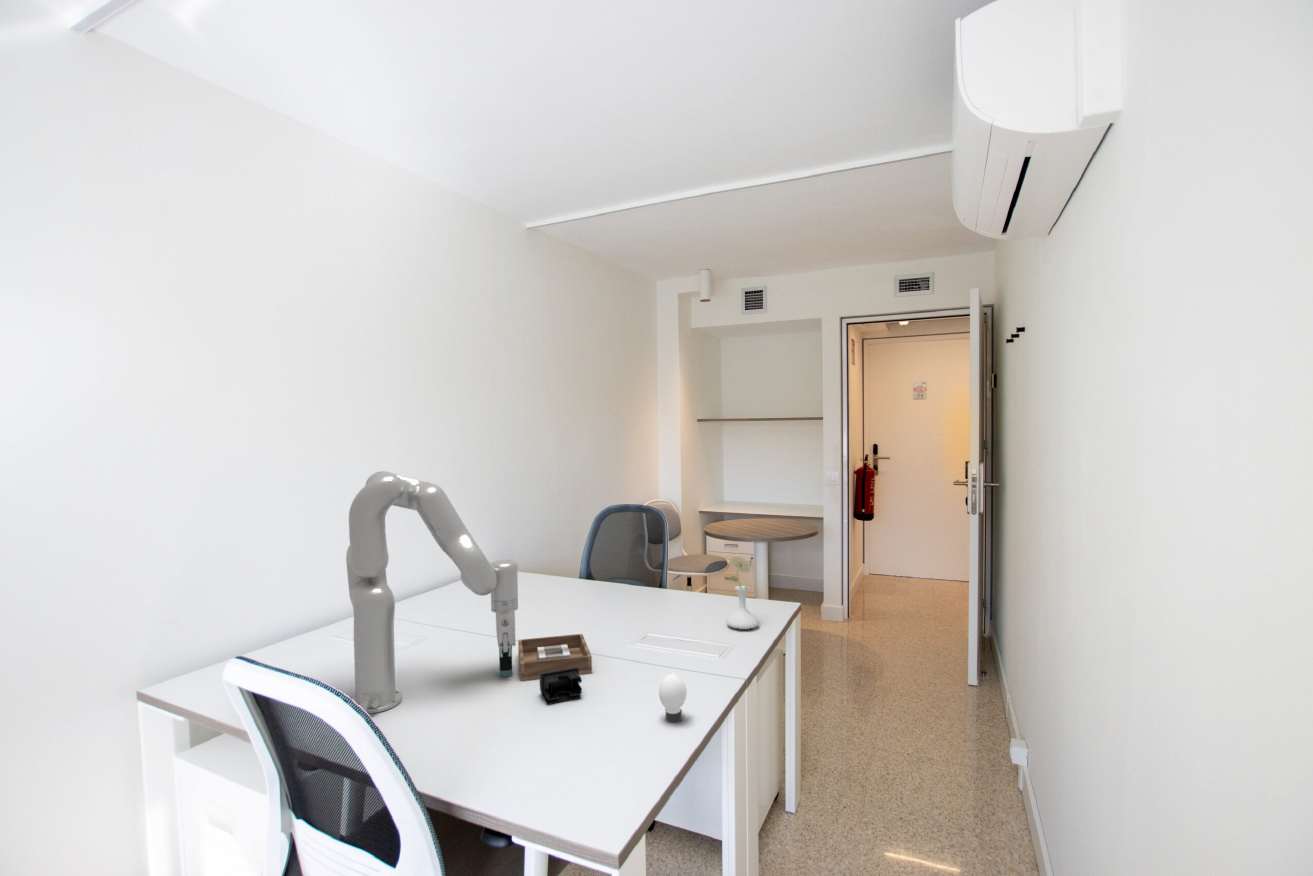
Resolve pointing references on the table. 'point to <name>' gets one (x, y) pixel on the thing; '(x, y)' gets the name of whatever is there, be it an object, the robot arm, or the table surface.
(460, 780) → the table surface
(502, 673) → the peg
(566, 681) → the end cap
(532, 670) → the box
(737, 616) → the flower in vase
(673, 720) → the light bulb
